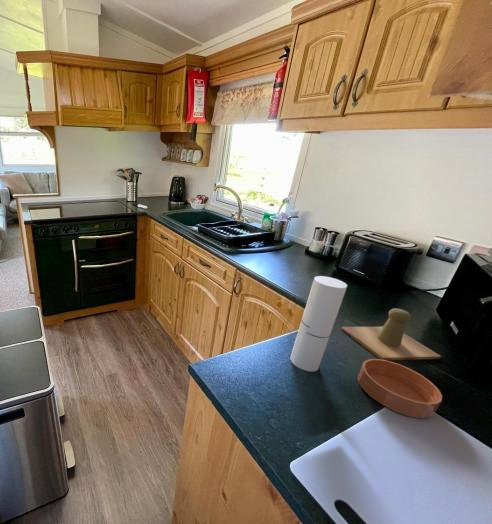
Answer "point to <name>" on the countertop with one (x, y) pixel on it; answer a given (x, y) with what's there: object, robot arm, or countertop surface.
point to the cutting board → (387, 352)
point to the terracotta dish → (399, 388)
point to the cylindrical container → (317, 322)
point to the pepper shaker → (394, 327)
